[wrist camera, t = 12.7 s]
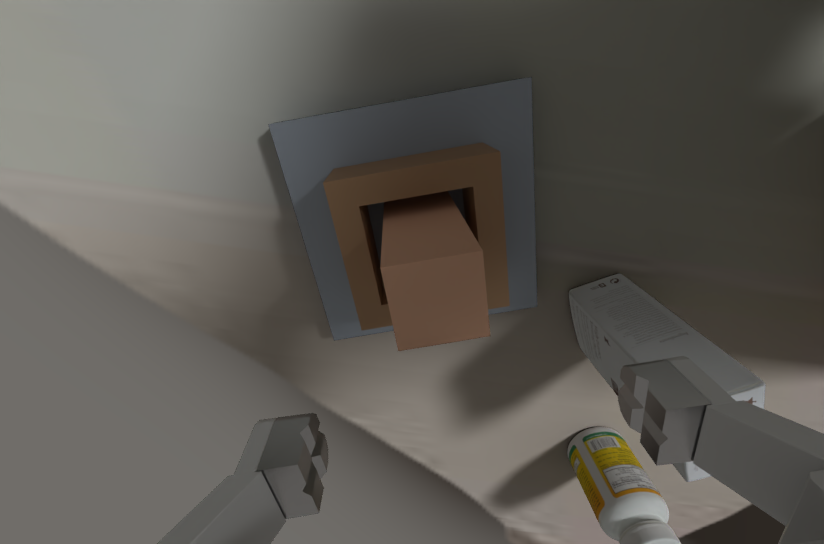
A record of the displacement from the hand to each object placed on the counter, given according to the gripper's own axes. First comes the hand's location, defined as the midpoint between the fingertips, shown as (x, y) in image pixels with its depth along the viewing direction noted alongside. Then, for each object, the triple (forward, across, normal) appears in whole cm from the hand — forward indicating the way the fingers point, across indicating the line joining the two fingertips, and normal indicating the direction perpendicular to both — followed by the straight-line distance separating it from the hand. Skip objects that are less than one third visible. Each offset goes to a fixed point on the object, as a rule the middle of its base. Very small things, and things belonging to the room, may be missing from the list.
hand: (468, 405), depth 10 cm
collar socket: (+17, 0, 0) cm, 17 cm away
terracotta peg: (+16, 0, 0) cm, 16 cm away
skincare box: (+18, -12, +10) cm, 24 cm away
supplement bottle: (+17, -12, +25) cm, 33 cm away
